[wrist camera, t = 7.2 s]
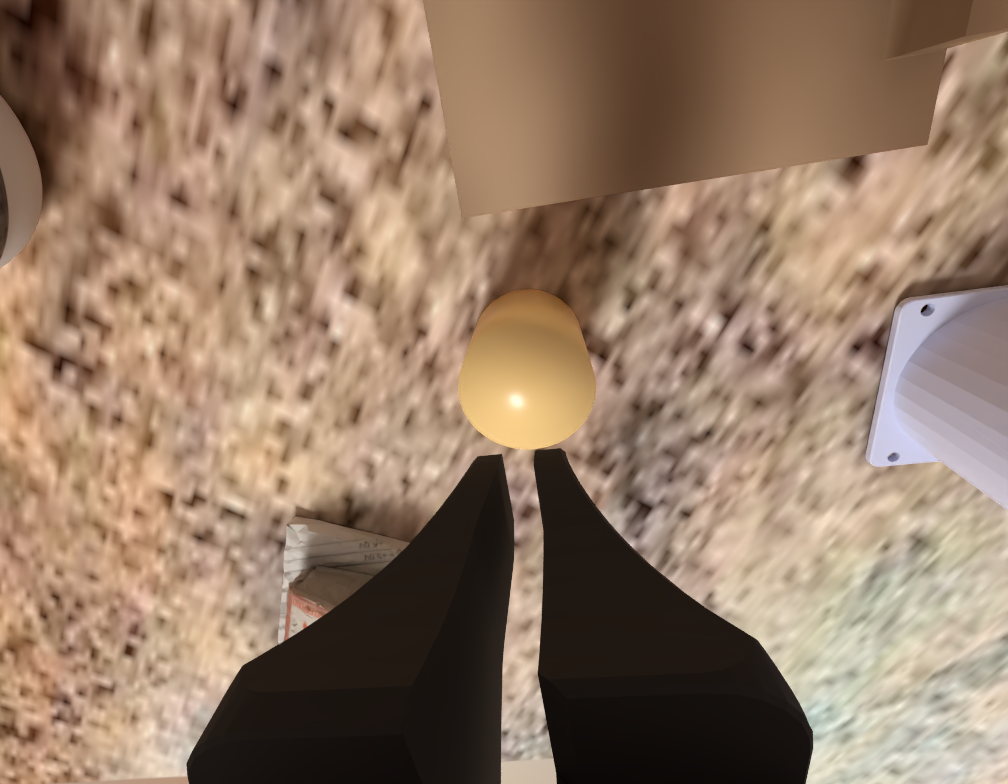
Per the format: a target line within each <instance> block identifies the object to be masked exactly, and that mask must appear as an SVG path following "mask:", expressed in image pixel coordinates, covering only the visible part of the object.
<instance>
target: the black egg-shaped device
mask: <svg viewBox="0 0 1008 784" xmlns="http://www.w3.org/2000/svg"><path fill="white" fill-rule="evenodd" d="M42 191H43V190H42V179H41V174H40V169H39V165H38V161H37V158H36V155H35V152H34V150H33V147H32V145H31V143H30V140H29V138H28V136H27V134H26V132H25V130H24V128H23V127H22V125H21V123H20V122H19V120H18V118H17V117H16V115H15V114H14V112H13V111H12V109H11V108H10V107H9V105H8V104H7V102H6V101H5V100H4V99H3V97H2V96H1V95H0V268H1V267H2V266H4V265H5V264H7V263H8V262H9V261H11V260H12V259H13V258H14V257H15V256H16V255H17V254H18V253H19V252H20V251H21V250H22V249H23V248H24V246H25V245H26V244H27V243H28V241H29V240H30V238H31V236H32V235H33V233H34V231H35V229H36V226H37V224H38V221H39V217H40V213H41V208H42Z"/></svg>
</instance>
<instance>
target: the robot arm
mask: <svg viewBox="0 0 1008 784" xmlns="http://www.w3.org/2000/svg"><path fill="white" fill-rule="evenodd" d="M926 304H928V307H927V309H926V310H925V311H924V312H923V313H921V309H922V307H923V306H925V305H926ZM891 453H893V454H892V455H891V456H889V455H890V454H891ZM888 456H889V457H888ZM866 460H867V461H868V462H869V463H870V464H871V465H873V466H878V467H881V466H892V465H903V464H914V463H926V462H937V461H941V462H942V463H943V464H945V465H946V466H947V467H949V468H950V469H952V470H953V471H954V472H956V473H957V474H958V475H960V476H961V477H963V478H964V479H965V480H967V481H968V482H970V483H971V484H972V485H974V486H975V487H976V488H978V489H979V490H981V491H982V492H983V493H985V494H986V495H987V496H989V497H990V498H992V499H993V500H994V501H996V502H997V503H998V504H1000V505H1001V506H1003V507H1004V508H1005V509H1007V510H1008V285H1004V286H996V287H988V288H980V289H972V290H964V291H956V292H948V293H940V294H932V295H924V296H916V297H910V298H906V299H904V300H903V301H901V302H900V303H899V304H898V305H897V307H896V309H895V312H894V317H893V322H892V327H891V332H890V337H889V342H888V347H887V352H886V357H885V362H884V366H883V371H882V376H881V381H880V386H879V391H878V396H877V401H876V406H875V411H874V416H873V421H872V426H871V431H870V436H869V441H868V446H867V451H866ZM534 470H535V477H536V483H537V490H538V497H539V503H540V510H541V517H542V524H543V530H544V562H543V599H542V623H541V638H540V653H539V666H538V677H539V683H540V688H541V693H542V699H543V704H544V709H545V715H546V720H547V726H548V731H549V736H550V742H551V747H552V752H553V758H554V763H555V768H556V777H557V784H806V779H807V774H808V770H809V765H810V760H811V756H812V751H813V731H812V729H811V727H810V725H809V723H808V721H807V718H806V716H805V714H804V712H803V710H802V708H801V706H800V704H799V702H798V700H797V698H796V697H795V695H794V693H793V692H792V690H791V688H790V687H789V685H788V684H787V682H786V681H785V679H784V678H783V676H782V674H781V673H780V671H779V670H778V668H777V667H776V665H775V664H774V662H773V661H772V660H771V658H770V657H769V655H768V654H767V653H766V651H765V650H764V648H763V647H762V646H761V644H760V643H759V642H758V640H756V639H755V638H753V637H752V636H750V635H748V634H747V633H745V632H744V631H742V630H740V629H739V628H737V627H735V626H734V625H732V624H731V623H729V622H727V621H726V620H724V619H722V618H721V617H719V616H718V615H716V614H714V613H713V612H711V611H709V610H708V609H706V608H705V607H704V606H702V605H701V604H700V603H698V602H697V601H695V600H694V599H693V598H691V597H690V596H688V595H687V594H686V593H684V592H683V591H682V590H681V589H679V588H678V587H677V586H676V585H674V584H673V583H672V582H671V581H670V580H668V579H667V578H666V577H665V576H663V575H662V574H661V573H660V572H659V571H657V570H656V569H655V568H654V567H652V566H651V565H650V564H649V563H648V562H647V561H646V560H645V559H644V558H643V557H642V556H640V555H639V554H638V553H637V552H636V551H635V550H634V549H633V548H632V547H631V546H630V545H629V544H628V543H627V542H626V541H625V540H624V539H623V538H622V537H621V536H620V534H619V533H618V532H617V531H616V530H615V529H614V528H613V527H612V525H611V524H610V523H609V522H608V521H607V519H606V518H605V517H604V516H603V515H602V513H601V512H600V511H599V510H598V508H597V507H596V506H595V504H594V503H593V502H592V500H591V499H590V497H589V496H588V494H587V493H586V491H585V490H584V488H583V487H582V485H581V484H580V482H579V481H578V479H577V477H576V475H575V474H574V472H573V470H572V468H571V466H570V464H569V462H568V459H567V457H566V453H565V451H563V450H562V449H561V448H558V449H548V450H538V451H535V456H534ZM513 562H514V518H513V512H512V507H511V501H510V496H509V490H508V485H507V479H506V474H505V468H504V463H503V457H502V454H498V455H488V456H478V457H477V458H476V459H475V460H474V461H473V463H472V464H471V466H470V467H469V469H468V470H467V472H466V473H465V475H464V476H463V477H462V479H461V480H460V482H459V483H458V485H457V486H456V487H455V489H454V490H453V492H452V493H451V494H450V495H449V497H448V498H447V499H446V501H445V502H444V503H443V505H442V506H441V507H440V509H439V510H438V511H437V512H436V514H435V515H434V516H433V517H432V518H431V520H430V521H429V522H428V523H427V524H426V525H425V527H424V528H423V529H422V530H421V531H420V533H419V534H418V535H417V536H416V537H415V538H414V539H413V540H412V541H411V542H410V544H409V545H408V546H407V547H406V548H405V549H404V550H403V551H402V552H400V553H399V554H398V555H397V556H396V557H395V558H394V559H393V560H392V561H391V562H390V563H389V564H388V565H387V566H386V567H385V568H383V569H382V570H381V571H380V572H379V573H377V574H376V575H375V576H374V577H373V578H371V579H370V580H369V581H368V582H367V583H365V584H364V585H363V586H362V587H361V588H359V589H358V590H357V591H356V592H355V593H353V594H352V595H351V596H350V597H348V598H347V599H346V600H344V601H343V602H341V603H340V604H339V605H337V606H336V607H335V608H333V609H332V610H331V611H329V612H328V613H326V614H325V615H323V616H322V617H321V618H319V619H318V620H316V621H315V622H313V623H312V624H310V625H309V626H307V627H306V628H304V629H303V630H301V631H300V632H298V633H297V634H295V635H293V636H292V637H290V638H288V639H287V640H285V641H283V642H282V643H280V644H278V645H277V646H275V647H274V648H272V649H270V650H269V651H267V652H265V653H264V654H262V655H260V656H259V657H257V658H255V659H254V660H252V661H250V662H248V663H246V664H245V665H243V666H242V668H241V669H240V671H239V672H238V674H237V675H236V677H235V679H234V680H233V682H232V684H231V685H230V687H229V688H228V690H227V692H226V693H225V695H224V697H223V699H222V700H221V702H220V704H219V706H218V707H217V709H216V711H215V713H214V714H213V716H212V718H211V720H210V721H209V723H208V725H207V727H206V728H205V730H204V732H203V734H202V735H201V737H200V739H199V740H198V742H197V744H196V746H195V747H194V749H193V751H192V753H191V755H190V757H189V760H188V762H187V775H188V780H189V784H501V708H502V664H503V651H504V640H505V631H506V623H507V615H508V606H509V598H510V589H511V580H512V572H513Z"/></svg>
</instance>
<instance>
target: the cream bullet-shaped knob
mask: <svg viewBox="0 0 1008 784" xmlns="http://www.w3.org/2000/svg"><path fill="white" fill-rule="evenodd" d="M458 392H459V399H460V402H461V406H462V408H463V411H464V413H465V415H466V416H467V418H468V420H469V421H470V422H471V423H472V425H473V426H474V427H475V428H476V429H477V430H478V431H479V432H480V433H482V434H483V435H484V436H486V437H487V438H489V439H490V440H492V441H494V442H496V443H499V444H501V445H504V446H507V447H511V448H517V449H538V448H544V447H547V446H551V445H554V444H556V443H559V442H561V441H562V440H564V439H566V438H568V437H569V436H570V435H572V434H573V433H574V432H575V431H576V430H577V429H579V428H580V426H581V425H582V424H583V423H584V422H585V420H586V418H587V417H588V415H589V413H590V411H591V409H592V407H593V403H594V400H595V393H596V381H595V375H594V371H593V368H592V365H591V361H590V358H589V355H588V351H587V348H586V345H585V341H584V338H583V335H582V331H581V328H580V325H579V322H578V320H577V318H576V316H575V314H574V313H573V311H572V310H571V309H570V307H569V306H568V305H567V304H566V303H565V302H563V301H562V300H561V299H559V298H558V297H556V296H554V295H552V294H550V293H548V292H544V291H541V290H535V289H521V290H516V291H512V292H509V293H506V294H504V295H502V296H500V297H498V298H497V299H495V300H494V301H493V302H492V303H490V304H489V305H488V306H487V308H486V309H485V310H484V311H483V313H482V314H481V316H480V318H479V320H478V322H477V324H476V327H475V330H474V333H473V336H472V339H471V342H470V345H469V347H468V350H467V353H466V356H465V359H464V362H463V365H462V368H461V371H460V374H459V381H458Z"/></svg>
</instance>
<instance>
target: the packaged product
mask: <svg viewBox="0 0 1008 784" xmlns="http://www.w3.org/2000/svg"><path fill="white" fill-rule="evenodd" d="M409 544H410V542H405V541H401V540H397V539H394V538H390V537H386V536H382V535H378V534H374V533H369V532H365V531H361V530H356V529H352V528H348V527H344V526H339V525H335V524H331V523H328V522H324V521H321V520H315V519H309V518H303V517H297V516H295V517H294V518H293V519H292V520H291V521H290V522H289V523H288V524H287V537H286V546H285V550H284V577H283V588H282V598H281V609H280V624H279V632H278V642H279V644H280V643H282V642H283V641H285V640H287V639H288V638H290V637H292V636H293V635H295V634H297V633H298V632H300V631H301V630H303V629H304V628H306V627H307V626H309V625H310V624H312V623H313V622H315V621H316V620H318V619H319V618H321V617H322V616H323V615H325V614H326V613H328V612H329V611H331V610H332V609H333V608H335V607H336V606H337V605H339V604H340V603H341V602H343V601H344V600H346V599H347V598H348V597H350V596H351V595H352V594H353V593H355V592H356V591H357V590H358V589H359V588H361V587H362V586H363V585H364V584H365V583H367V582H368V581H369V580H370V579H371V578H373V577H374V576H375V575H376V574H377V573H379V572H380V571H381V570H382V569H383V568H385V567H386V566H387V565H388V564H389V563H390V562H391V561H392V560H393V559H394V558H395V557H396V556H397V555H398V554H399V553H400V552H402V551H403V550H404V549H405V548H406V547H407V546H408V545H409Z"/></svg>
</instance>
